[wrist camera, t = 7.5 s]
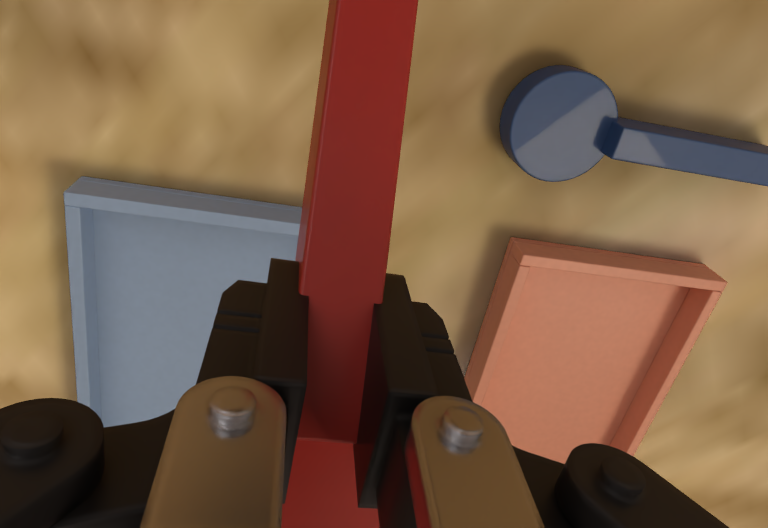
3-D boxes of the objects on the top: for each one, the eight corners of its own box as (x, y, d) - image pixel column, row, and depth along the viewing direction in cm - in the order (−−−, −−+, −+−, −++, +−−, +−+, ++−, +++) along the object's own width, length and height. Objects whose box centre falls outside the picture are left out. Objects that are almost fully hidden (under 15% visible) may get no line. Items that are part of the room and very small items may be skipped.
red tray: (510, 236, 28) (523, 254, 26) (704, 264, 30) (728, 282, 28) (430, 478, 35) (436, 504, 34) (589, 486, 38) (603, 512, 36)
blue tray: (81, 175, 24) (62, 191, 22) (336, 211, 26) (337, 229, 24) (95, 459, 32) (82, 488, 30) (292, 470, 34) (291, 497, 32)
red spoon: (398, 633, 12) (437, 729, 9) (154, 634, 11) (119, 742, 8) (466, 17, 13) (517, -54, 10) (250, -34, 12) (247, -127, 9)
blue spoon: (486, 162, 26) (502, 181, 24) (517, 55, 24) (538, 64, 21) (733, 203, 28) (770, 224, 26) (781, 109, 26) (826, 123, 24)
